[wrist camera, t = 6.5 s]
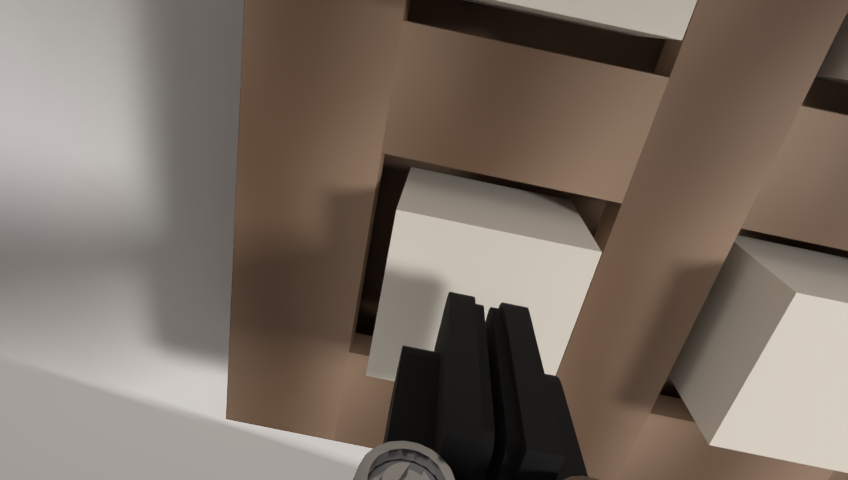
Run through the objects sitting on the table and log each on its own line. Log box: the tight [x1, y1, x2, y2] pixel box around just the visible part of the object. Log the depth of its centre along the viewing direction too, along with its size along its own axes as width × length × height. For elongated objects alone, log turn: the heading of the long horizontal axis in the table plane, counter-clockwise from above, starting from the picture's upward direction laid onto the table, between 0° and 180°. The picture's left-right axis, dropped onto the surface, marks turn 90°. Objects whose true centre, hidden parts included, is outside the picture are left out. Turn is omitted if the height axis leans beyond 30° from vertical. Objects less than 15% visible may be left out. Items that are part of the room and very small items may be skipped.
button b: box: [366, 167, 602, 381], centre depth 14 cm, size 5×5×4 cm
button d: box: [668, 235, 848, 473], centre depth 14 cm, size 5×5×4 cm
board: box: [226, 0, 848, 480], centre depth 14 cm, size 22×22×4 cm
